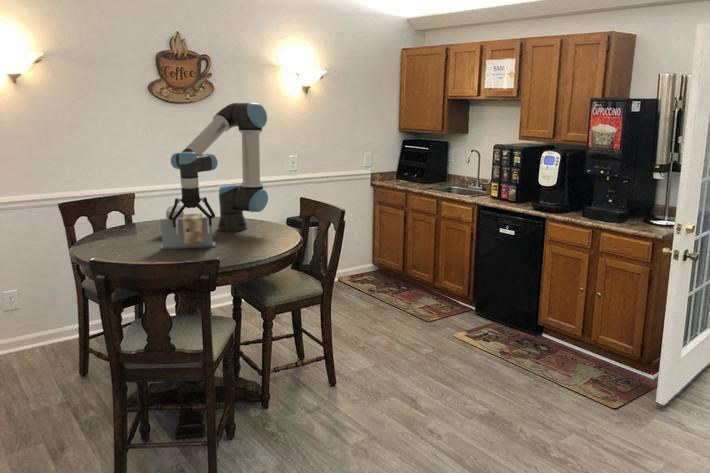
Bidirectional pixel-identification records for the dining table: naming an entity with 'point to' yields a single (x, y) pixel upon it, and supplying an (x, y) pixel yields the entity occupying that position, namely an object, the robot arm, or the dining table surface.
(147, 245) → the dining table surface
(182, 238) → the wall board
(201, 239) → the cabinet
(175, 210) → the smart speaker
